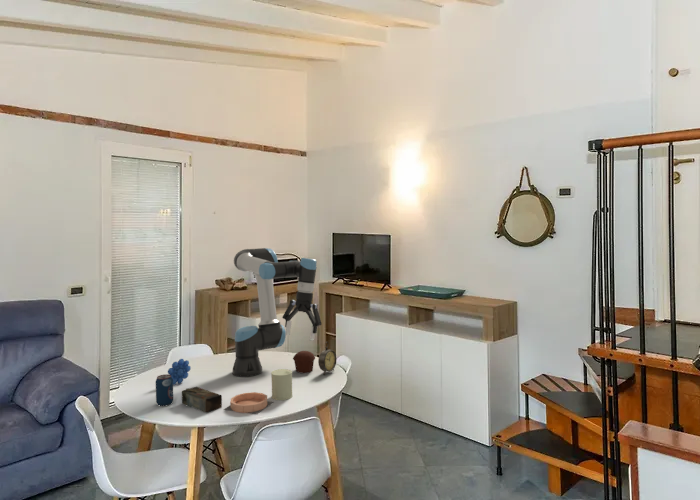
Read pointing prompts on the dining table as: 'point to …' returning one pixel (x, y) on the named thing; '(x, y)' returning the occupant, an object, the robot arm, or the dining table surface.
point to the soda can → (164, 390)
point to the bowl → (248, 402)
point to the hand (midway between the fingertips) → (299, 337)
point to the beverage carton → (201, 399)
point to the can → (281, 384)
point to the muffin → (304, 361)
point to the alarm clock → (327, 360)
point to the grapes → (179, 371)
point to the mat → (252, 412)
